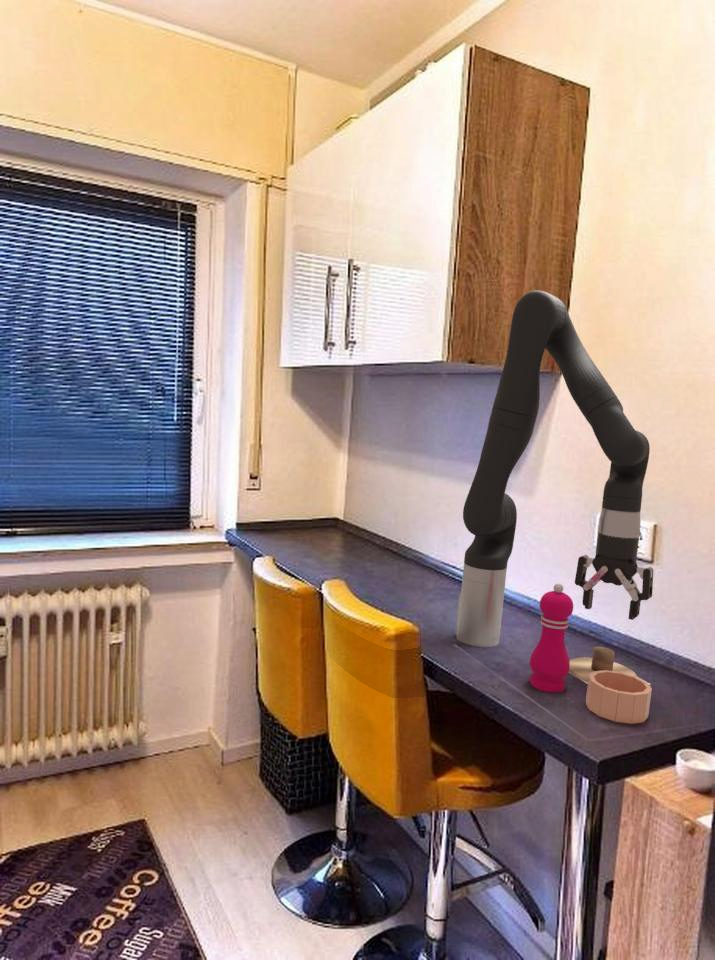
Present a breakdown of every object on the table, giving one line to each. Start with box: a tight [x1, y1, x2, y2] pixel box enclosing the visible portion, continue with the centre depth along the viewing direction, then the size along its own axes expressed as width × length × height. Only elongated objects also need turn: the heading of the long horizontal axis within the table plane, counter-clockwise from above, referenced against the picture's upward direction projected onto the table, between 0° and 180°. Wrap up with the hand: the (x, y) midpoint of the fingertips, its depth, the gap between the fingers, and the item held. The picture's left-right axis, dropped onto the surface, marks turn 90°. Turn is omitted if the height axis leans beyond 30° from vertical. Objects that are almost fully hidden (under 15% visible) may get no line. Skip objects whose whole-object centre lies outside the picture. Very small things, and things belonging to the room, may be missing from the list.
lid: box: [569, 646, 638, 682], centre depth 136 cm, size 13×13×5 cm
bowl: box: [585, 670, 653, 725], centre depth 120 cm, size 10×10×6 cm
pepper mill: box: [529, 583, 574, 693], centre depth 127 cm, size 7×7×20 cm
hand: (609, 613), depth 134 cm, fingers open, 8 cm apart
